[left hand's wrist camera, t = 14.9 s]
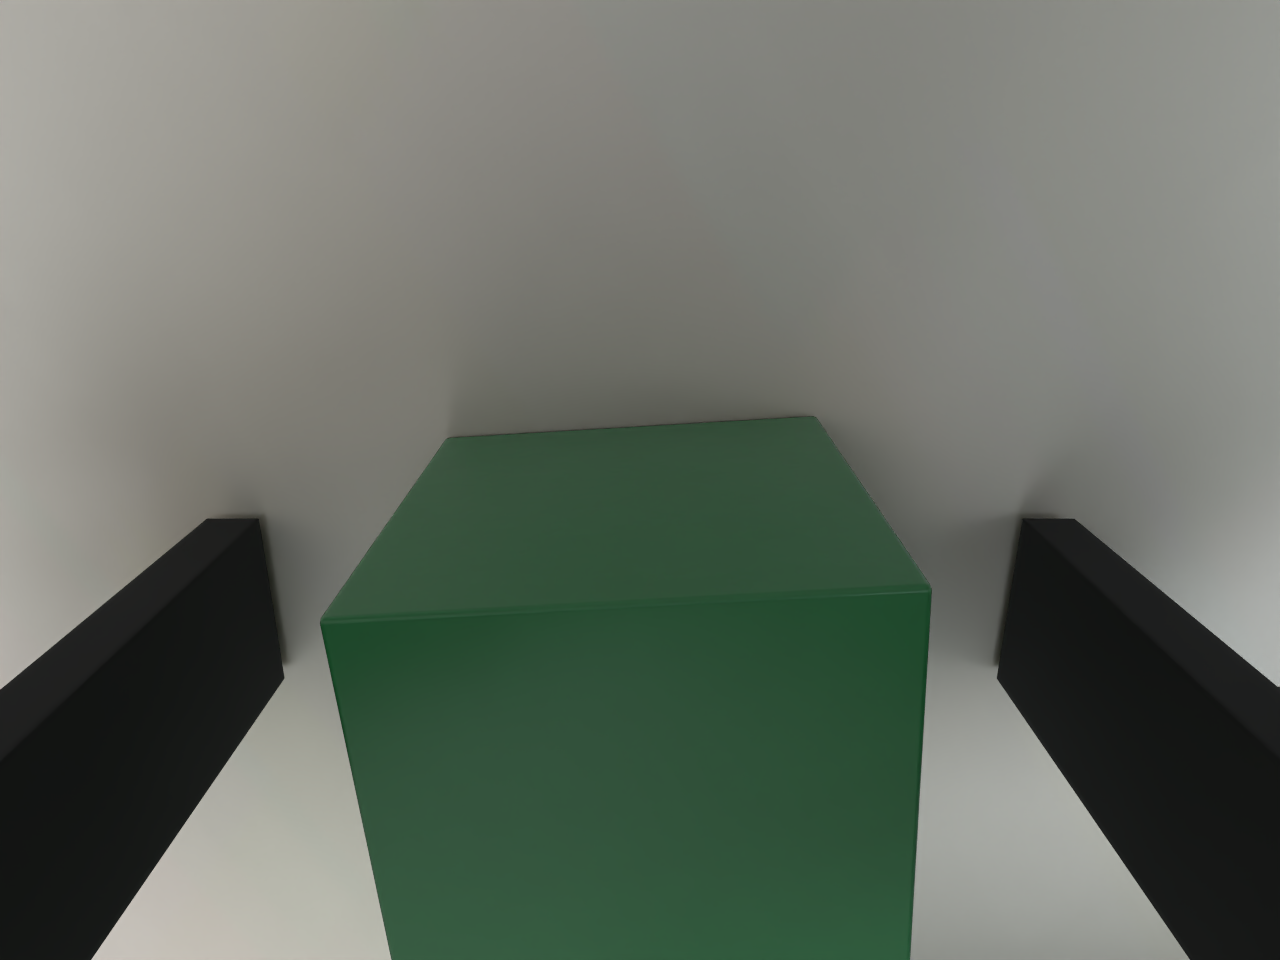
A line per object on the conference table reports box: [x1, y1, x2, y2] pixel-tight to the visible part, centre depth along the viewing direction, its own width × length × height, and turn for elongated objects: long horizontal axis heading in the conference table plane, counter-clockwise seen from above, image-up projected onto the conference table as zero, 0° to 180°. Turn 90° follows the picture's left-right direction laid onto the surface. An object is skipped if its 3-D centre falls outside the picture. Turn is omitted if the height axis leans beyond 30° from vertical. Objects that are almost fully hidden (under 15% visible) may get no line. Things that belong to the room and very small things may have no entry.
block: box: [320, 416, 932, 960], centre depth 11 cm, size 5×5×5 cm
